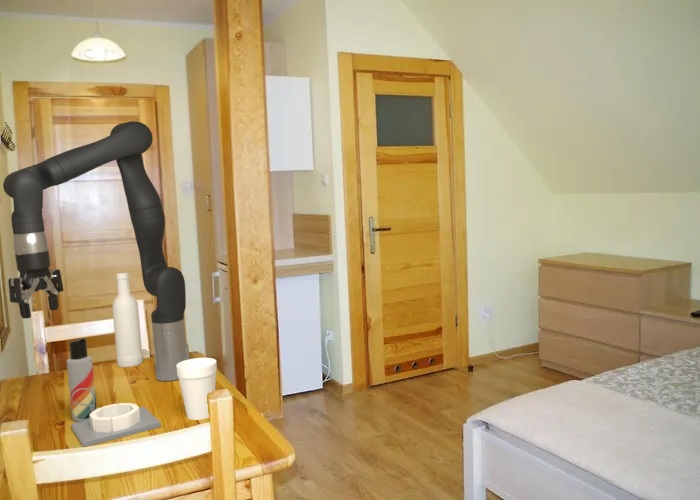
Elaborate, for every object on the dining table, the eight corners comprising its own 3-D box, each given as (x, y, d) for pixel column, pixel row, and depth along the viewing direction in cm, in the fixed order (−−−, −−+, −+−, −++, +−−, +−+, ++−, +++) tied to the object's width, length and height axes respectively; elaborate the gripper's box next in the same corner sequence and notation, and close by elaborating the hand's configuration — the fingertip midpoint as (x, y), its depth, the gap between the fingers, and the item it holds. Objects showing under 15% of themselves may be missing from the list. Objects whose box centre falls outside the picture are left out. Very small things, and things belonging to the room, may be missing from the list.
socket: (143, 410, 152) (142, 395, 151) (161, 426, 140) (159, 410, 140) (71, 428, 142) (69, 411, 142) (83, 447, 131) (81, 429, 130)
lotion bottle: (88, 422, 145) (80, 342, 143) (67, 421, 146) (59, 341, 144) (102, 413, 151) (94, 336, 149) (82, 413, 152) (74, 336, 150)
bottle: (116, 363, 197) (107, 273, 194) (141, 359, 201) (133, 270, 198) (118, 369, 190) (110, 275, 187) (144, 364, 194) (136, 272, 191)
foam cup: (184, 409, 151) (181, 359, 150) (222, 406, 152) (218, 356, 151) (177, 423, 142) (173, 370, 140) (217, 420, 143) (213, 367, 141)
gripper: (43, 247, 158) (51, 307, 160) (-5, 255, 145) (5, 320, 147) (65, 246, 156) (73, 307, 157) (19, 254, 142) (28, 321, 144)
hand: (40, 314), depth 152 cm, fingers open, 8 cm apart
